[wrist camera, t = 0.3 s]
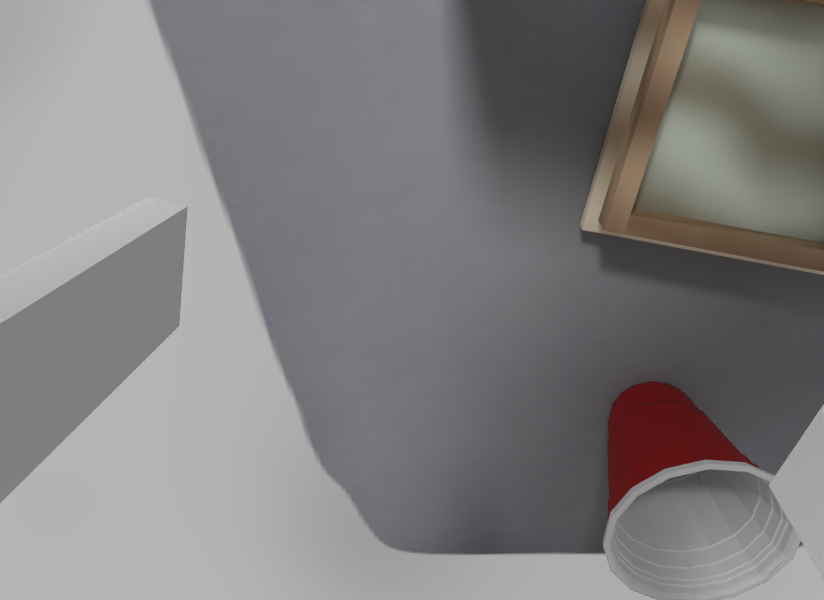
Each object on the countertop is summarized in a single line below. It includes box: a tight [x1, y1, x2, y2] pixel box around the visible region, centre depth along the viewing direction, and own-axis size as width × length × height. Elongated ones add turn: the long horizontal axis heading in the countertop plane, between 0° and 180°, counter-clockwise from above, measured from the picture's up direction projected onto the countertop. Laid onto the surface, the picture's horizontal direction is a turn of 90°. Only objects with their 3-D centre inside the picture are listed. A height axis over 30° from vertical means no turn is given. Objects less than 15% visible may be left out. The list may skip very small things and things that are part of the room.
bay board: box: [580, 0, 824, 275], centre depth 32 cm, size 22×16×3 cm
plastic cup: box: [603, 382, 801, 600], centre depth 38 cm, size 11×11×12 cm
